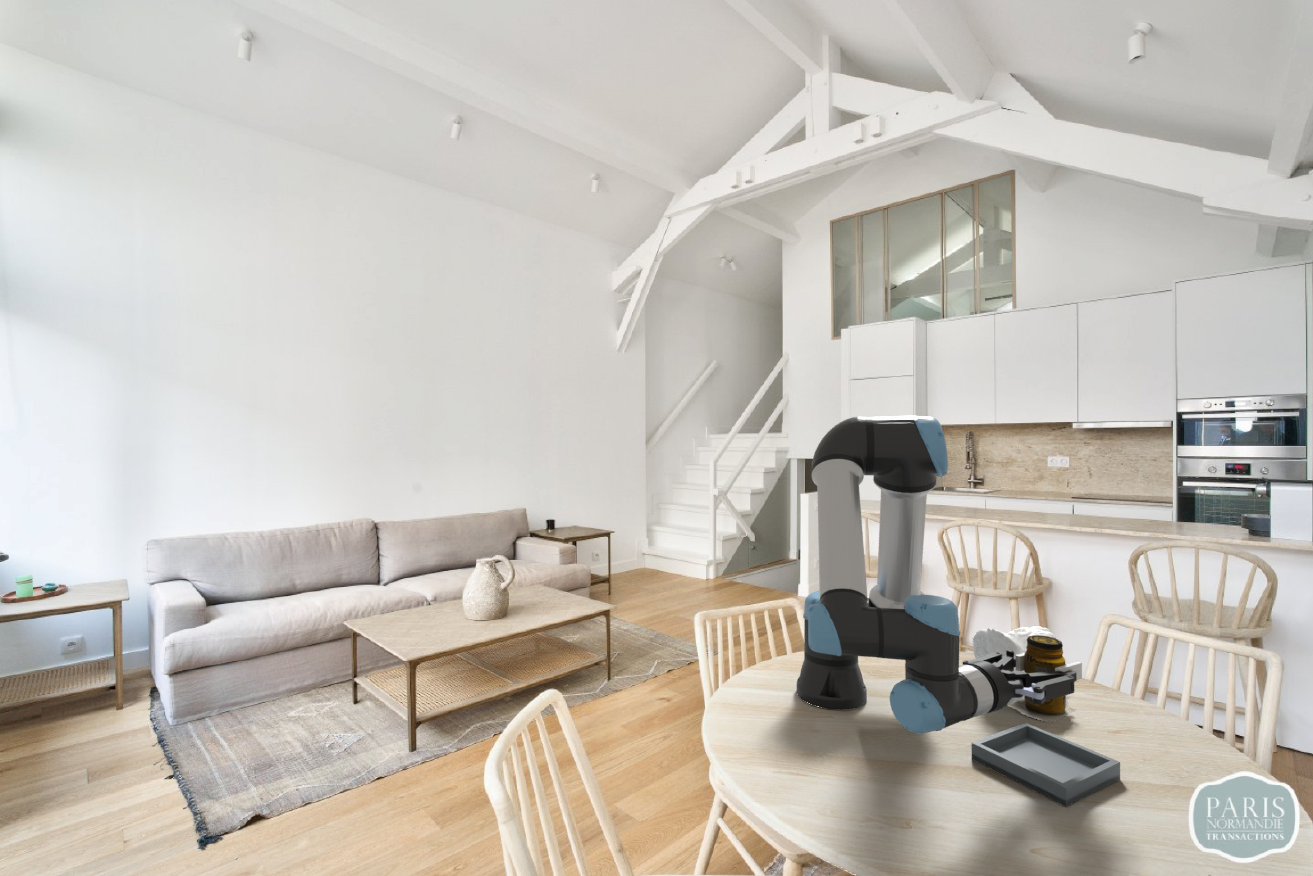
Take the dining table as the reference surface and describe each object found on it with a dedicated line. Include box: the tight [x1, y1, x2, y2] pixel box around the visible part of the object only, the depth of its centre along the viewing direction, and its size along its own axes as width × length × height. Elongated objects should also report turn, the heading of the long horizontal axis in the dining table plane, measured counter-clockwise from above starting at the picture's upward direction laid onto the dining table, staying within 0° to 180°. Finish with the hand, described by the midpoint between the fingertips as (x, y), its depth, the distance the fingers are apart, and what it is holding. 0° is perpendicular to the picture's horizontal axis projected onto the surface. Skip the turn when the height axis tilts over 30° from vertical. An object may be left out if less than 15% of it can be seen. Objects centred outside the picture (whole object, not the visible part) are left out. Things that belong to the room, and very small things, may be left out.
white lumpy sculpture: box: [972, 625, 1071, 722], centre depth 133 cm, size 19×20×20 cm
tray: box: [971, 722, 1121, 808], centre depth 106 cm, size 16×16×3 cm
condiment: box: [1006, 635, 1077, 723], centre depth 105 cm, size 7×8×12 cm
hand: (1058, 663), depth 107 cm, fingers closed on condiment, 6 cm apart
